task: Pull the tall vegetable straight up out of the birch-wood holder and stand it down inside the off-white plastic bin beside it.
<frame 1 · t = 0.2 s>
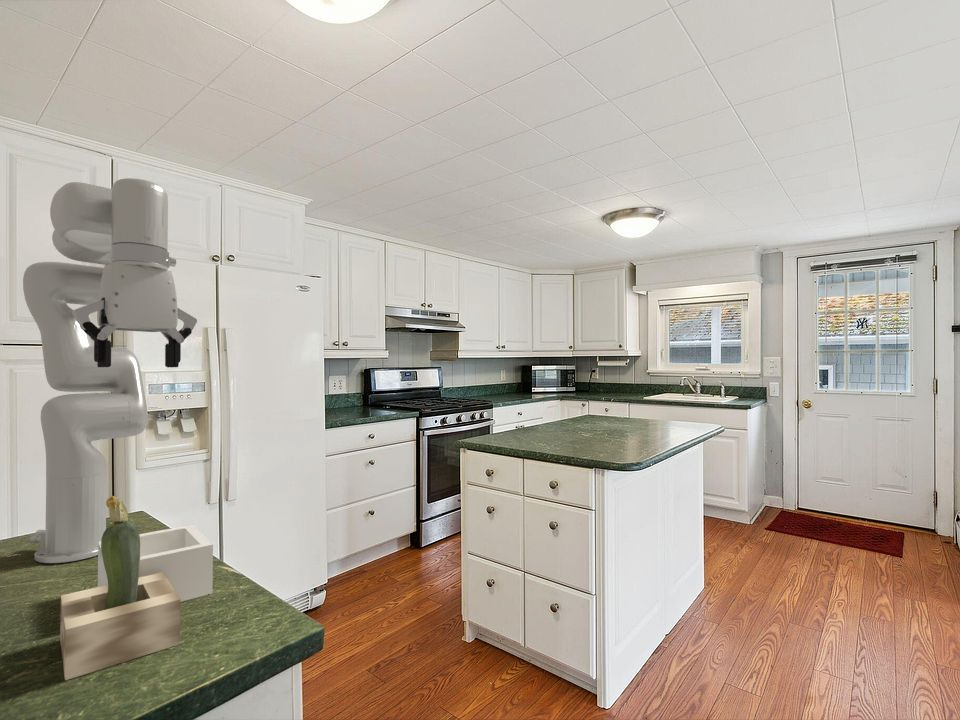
hand: (139, 367, 81), 37 cm above the counter, tool pointing down, fingers open, 9 cm apart
bin: (154, 591, 84), on the counter
holder: (119, 641, 69), on the counter
vegetable: (119, 643, 69), resting in holder
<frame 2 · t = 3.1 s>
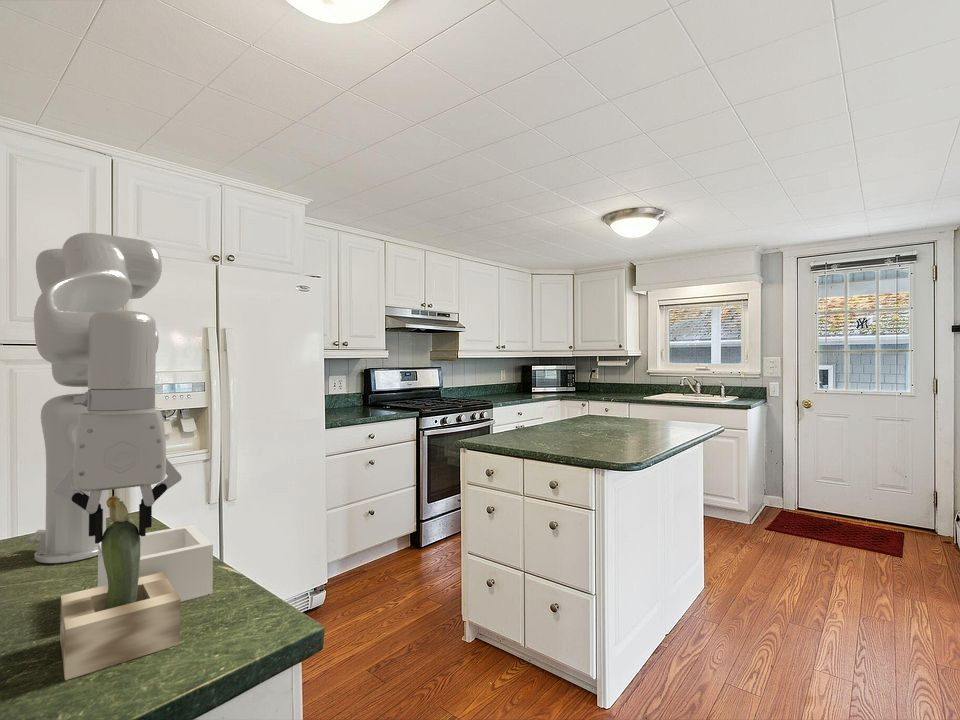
hand: (121, 535, 69), 14 cm above the counter, tool pointing down, fingers closed on vegetable, 4 cm apart
vegetable: (119, 643, 69), resting in holder, touching gripper
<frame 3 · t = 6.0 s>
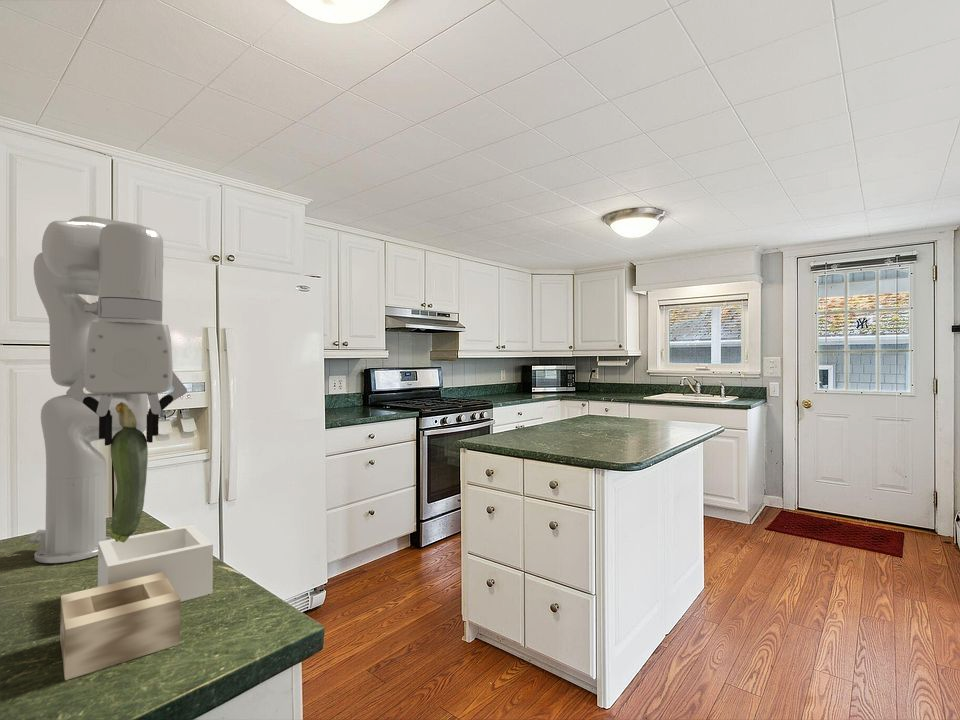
hand: (129, 441, 72), 27 cm above the counter, tool pointing down, fingers closed on vegetable, 4 cm apart
vegetable: (127, 543, 72), point 12 cm above the counter, touching gripper
when the fingers open (17 cm above the counter, at t = 9.0 s): vegetable drops 2 cm, resting on bin.
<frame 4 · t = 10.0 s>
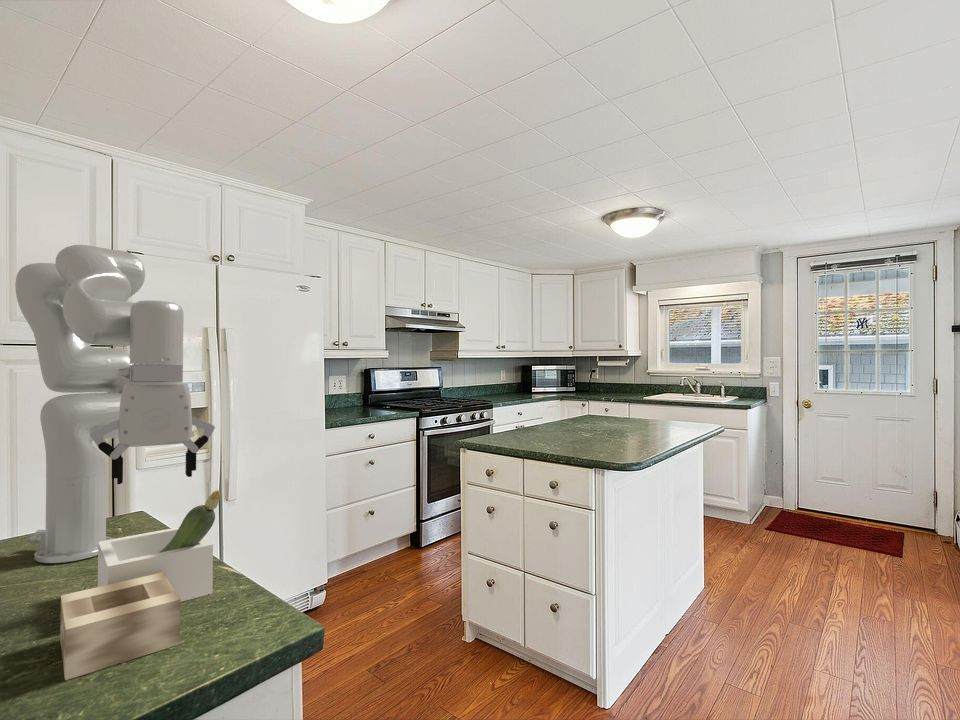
hand: (155, 478, 85), 19 cm above the counter, tool pointing down, fingers open, 9 cm apart
vegetable: (147, 586, 84), point 1 cm above the counter, touching bin
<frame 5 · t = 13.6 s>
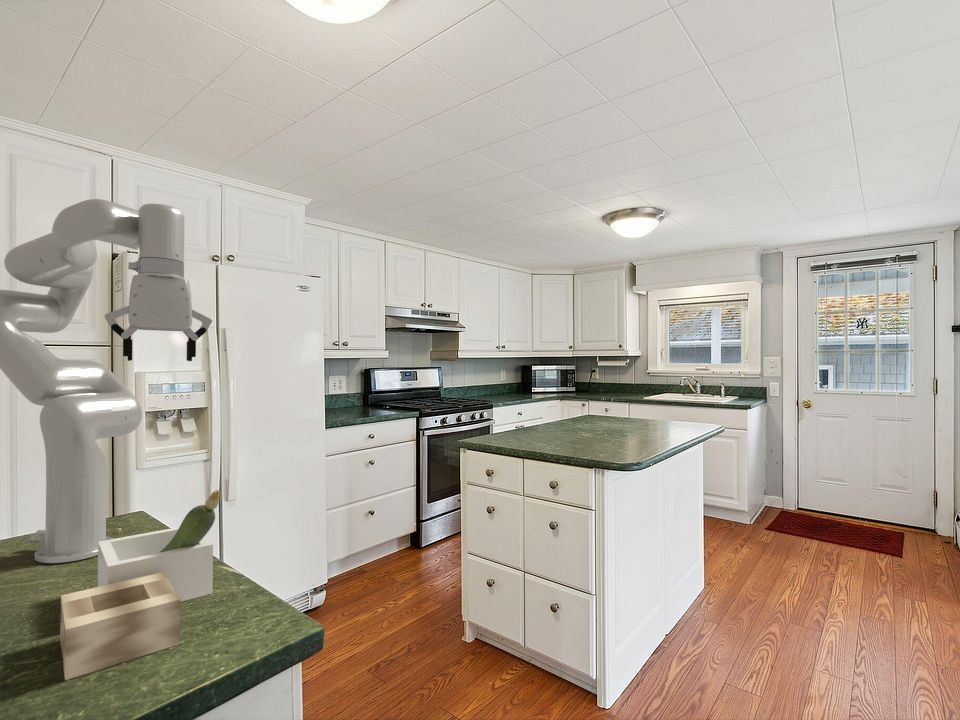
hand: (160, 360, 97), 38 cm above the counter, tool pointing down, fingers open, 9 cm apart
nothing on the counter moved.
at the end: vegetable inside the target area on the bin (1.0 cm from its centre), point 1.0 cm above the bin's base; the gripper is holding nothing; vegetable touching bin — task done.
